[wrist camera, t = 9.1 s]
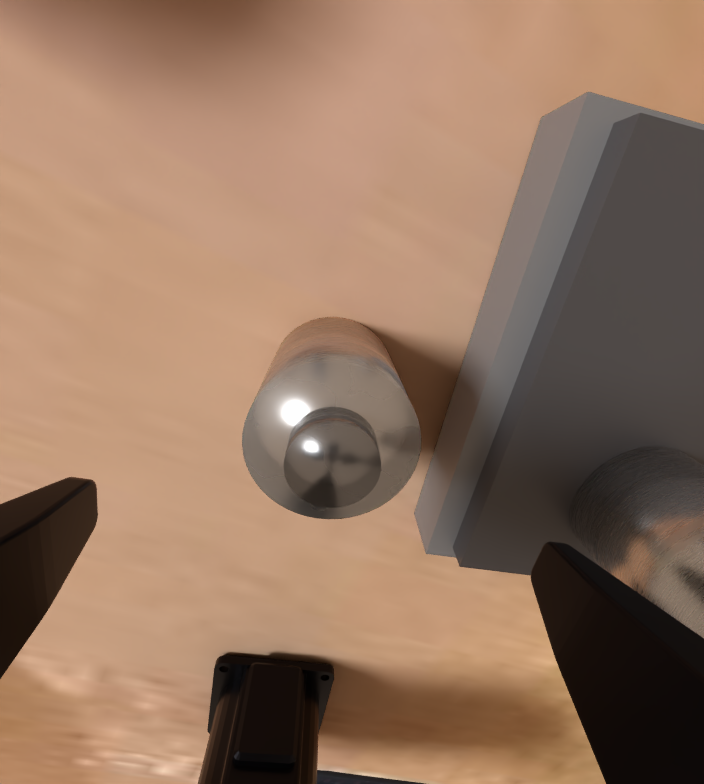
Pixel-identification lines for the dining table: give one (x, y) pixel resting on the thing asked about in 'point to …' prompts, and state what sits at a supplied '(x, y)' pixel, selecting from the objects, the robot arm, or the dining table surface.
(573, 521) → the weight
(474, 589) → the dining table surface
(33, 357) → the dining table surface
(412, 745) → the dining table surface
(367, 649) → the dining table surface
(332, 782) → the wallet
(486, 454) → the scale
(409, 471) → the weight
